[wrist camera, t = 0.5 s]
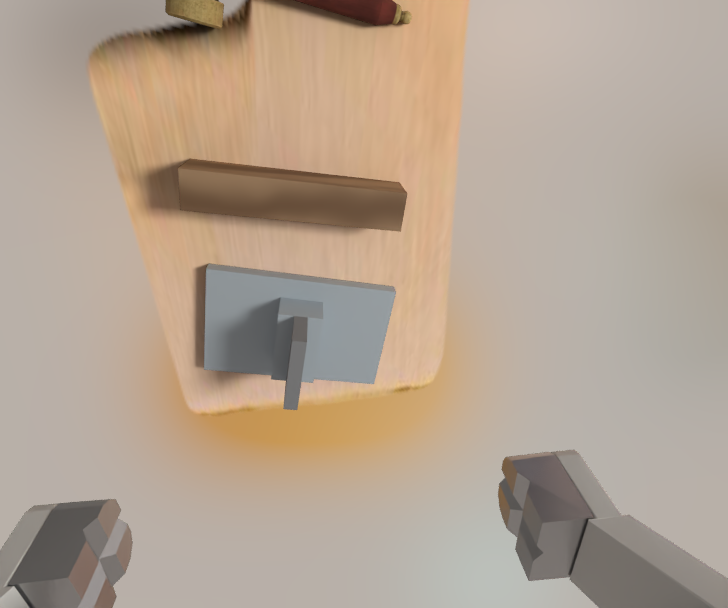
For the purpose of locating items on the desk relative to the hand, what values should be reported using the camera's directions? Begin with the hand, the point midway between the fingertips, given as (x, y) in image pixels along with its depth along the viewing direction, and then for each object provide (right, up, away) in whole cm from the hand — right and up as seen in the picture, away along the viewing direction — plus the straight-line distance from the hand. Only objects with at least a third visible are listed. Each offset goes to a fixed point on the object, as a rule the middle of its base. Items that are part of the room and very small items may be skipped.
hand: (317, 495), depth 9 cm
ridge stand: (-7, +1, +47) cm, 47 cm away
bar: (-6, +17, +39) cm, 43 cm away
